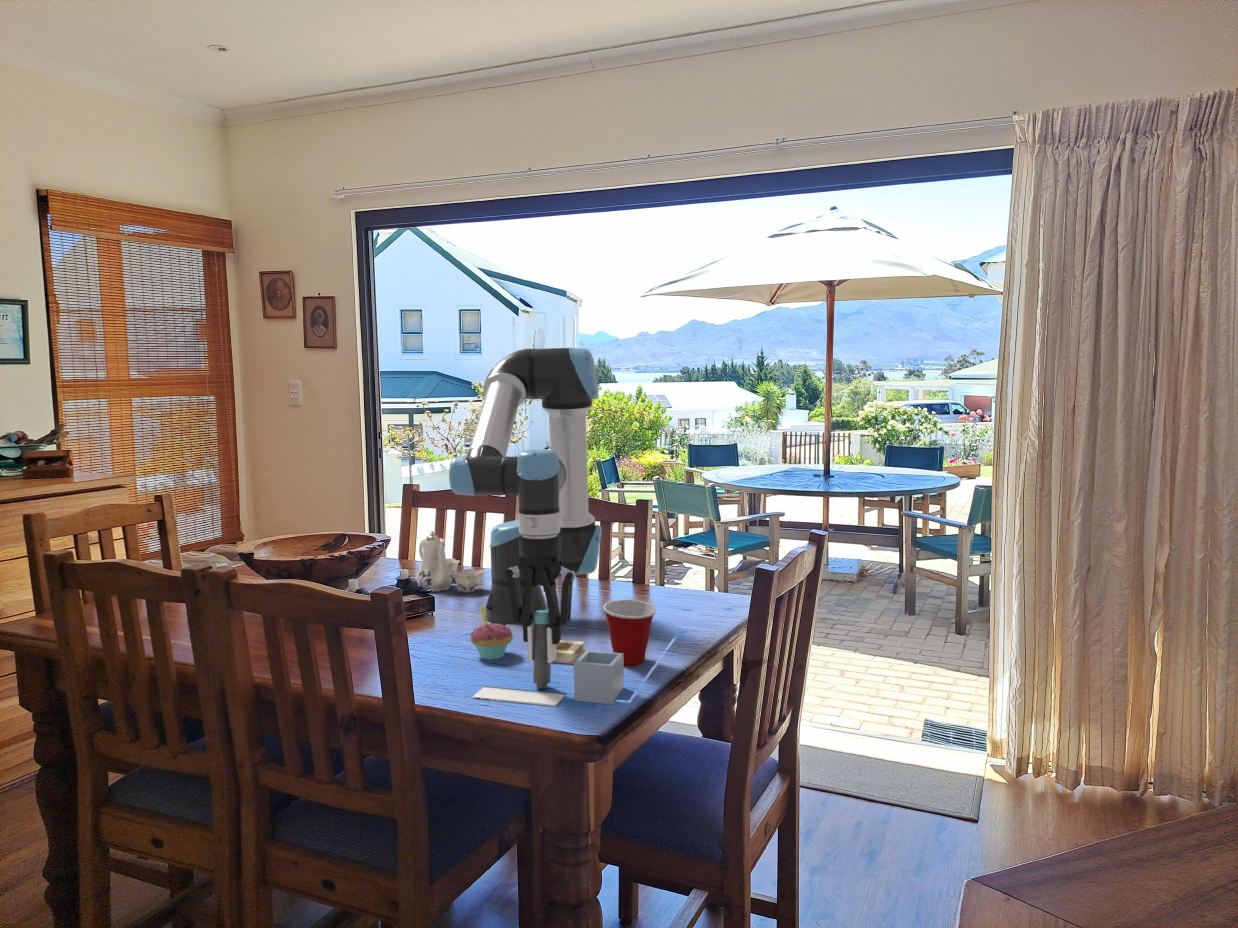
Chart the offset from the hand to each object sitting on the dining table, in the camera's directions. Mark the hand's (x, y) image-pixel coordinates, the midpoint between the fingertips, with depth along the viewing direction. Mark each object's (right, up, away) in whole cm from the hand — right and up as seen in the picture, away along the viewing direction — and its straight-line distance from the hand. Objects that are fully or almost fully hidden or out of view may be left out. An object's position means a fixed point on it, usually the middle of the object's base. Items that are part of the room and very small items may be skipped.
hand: (542, 659), depth 159 cm
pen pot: (+11, -6, -2) cm, 12 cm away
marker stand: (+2, -4, +19) cm, 19 cm away
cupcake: (-12, -4, +20) cm, 23 cm away
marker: (0, -5, 0) cm, 5 cm away
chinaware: (-35, +2, +81) cm, 88 cm away
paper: (-3, -6, +1) cm, 7 cm away
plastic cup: (+17, -4, +15) cm, 22 cm away
